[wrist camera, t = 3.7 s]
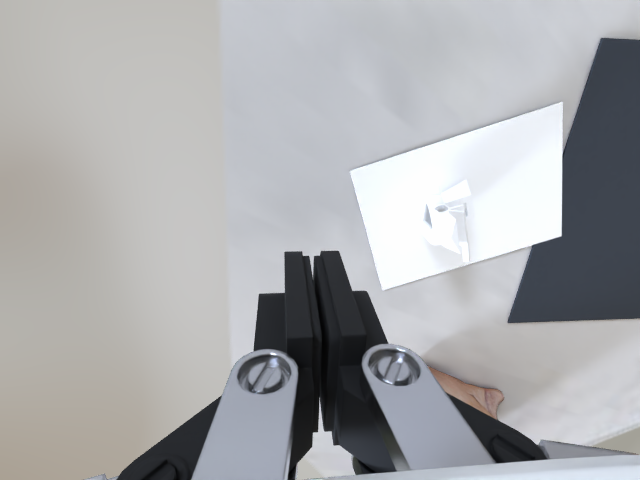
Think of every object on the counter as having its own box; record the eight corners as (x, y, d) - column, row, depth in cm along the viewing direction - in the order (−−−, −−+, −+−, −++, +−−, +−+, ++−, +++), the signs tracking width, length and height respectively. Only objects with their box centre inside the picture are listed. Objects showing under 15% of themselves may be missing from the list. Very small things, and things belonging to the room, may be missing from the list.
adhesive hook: (411, 189, 17) (435, 213, 14) (463, 173, 17) (498, 193, 14) (421, 242, 18) (445, 274, 16) (470, 227, 18) (503, 256, 15)
